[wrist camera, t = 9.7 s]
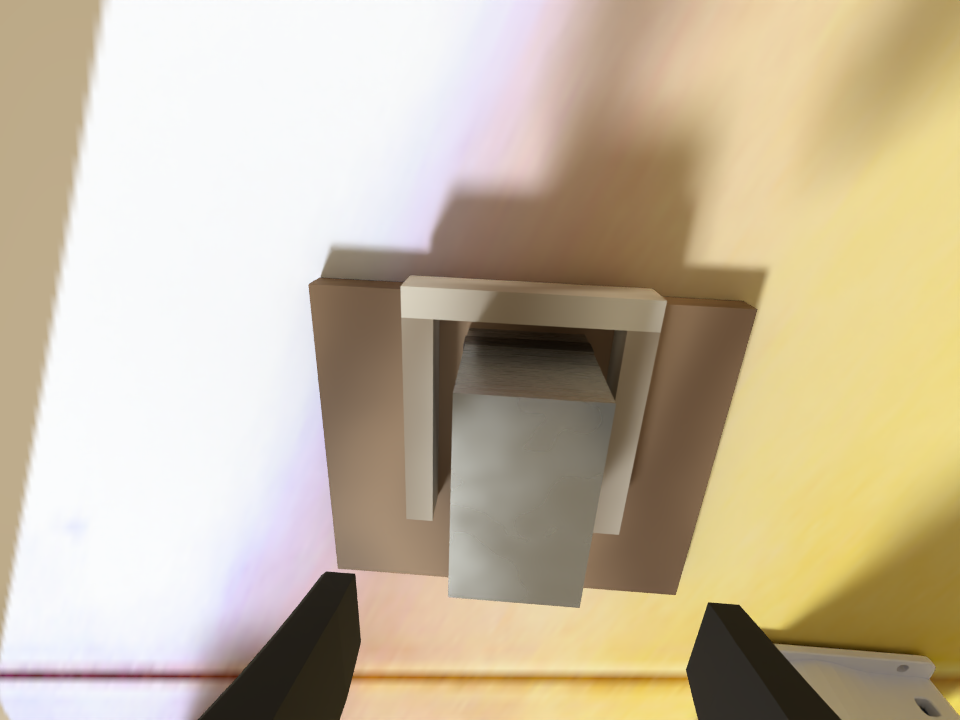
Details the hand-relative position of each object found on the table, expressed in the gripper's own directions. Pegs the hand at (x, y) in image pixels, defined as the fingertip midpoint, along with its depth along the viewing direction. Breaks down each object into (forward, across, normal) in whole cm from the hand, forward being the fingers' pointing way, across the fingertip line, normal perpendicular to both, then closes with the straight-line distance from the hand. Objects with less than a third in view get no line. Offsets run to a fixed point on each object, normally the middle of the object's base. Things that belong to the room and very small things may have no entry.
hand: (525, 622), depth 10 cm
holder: (+9, 0, +2) cm, 10 cm away
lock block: (+8, 0, 0) cm, 8 cm away
